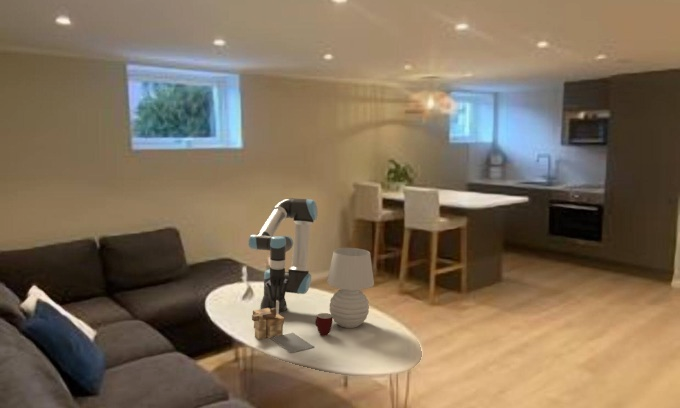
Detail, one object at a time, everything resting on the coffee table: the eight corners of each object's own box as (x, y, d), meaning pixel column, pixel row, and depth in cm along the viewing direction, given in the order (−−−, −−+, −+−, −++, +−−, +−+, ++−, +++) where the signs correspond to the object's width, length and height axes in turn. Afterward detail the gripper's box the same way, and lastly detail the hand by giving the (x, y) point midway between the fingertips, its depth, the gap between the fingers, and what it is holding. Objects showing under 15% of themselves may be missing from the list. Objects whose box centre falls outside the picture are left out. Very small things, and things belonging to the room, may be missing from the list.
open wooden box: (267, 324, 272) (268, 302, 270) (282, 334, 259) (283, 312, 257) (244, 329, 264) (245, 306, 263) (259, 340, 251) (259, 316, 250)
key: (273, 315, 259) (273, 307, 258) (275, 317, 257) (276, 309, 256) (251, 319, 252) (252, 311, 251) (254, 321, 250) (254, 313, 249)
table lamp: (378, 321, 284) (382, 250, 278) (361, 336, 261) (365, 260, 255) (337, 313, 294) (340, 244, 289) (316, 327, 271) (319, 253, 266)
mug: (309, 333, 263) (309, 314, 261) (319, 329, 269) (320, 310, 267) (324, 339, 256) (325, 319, 255) (335, 334, 262) (335, 315, 261)
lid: (268, 313, 272) (268, 307, 271) (284, 323, 258) (284, 317, 258) (252, 316, 266) (252, 310, 266) (268, 326, 253) (268, 320, 252)
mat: (293, 333, 262) (293, 332, 261) (314, 347, 246) (314, 346, 245) (270, 338, 254) (270, 337, 254) (290, 353, 238) (290, 352, 238)
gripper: (285, 264, 262) (283, 309, 265) (262, 267, 254) (261, 313, 257) (292, 267, 256) (291, 313, 259) (269, 270, 248) (268, 317, 251)
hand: (276, 313), depth 258 cm, fingers closed
